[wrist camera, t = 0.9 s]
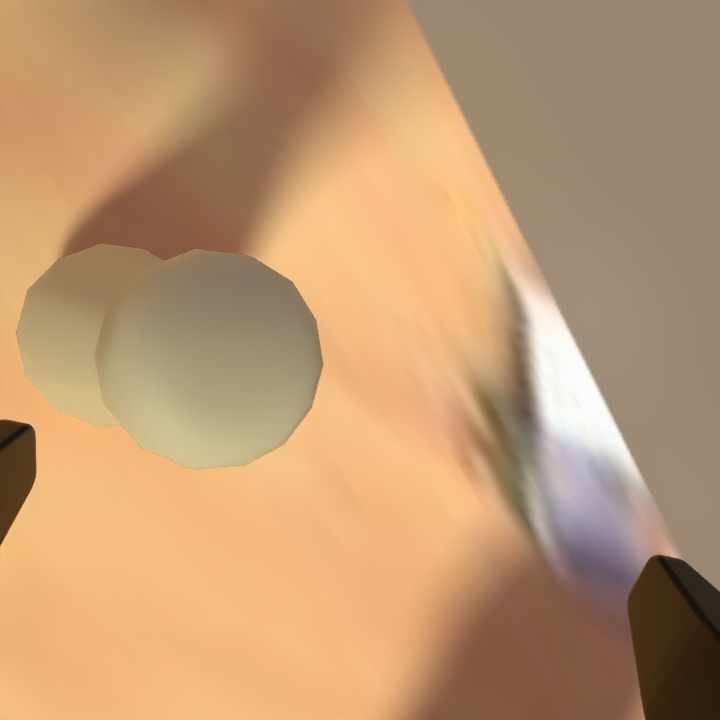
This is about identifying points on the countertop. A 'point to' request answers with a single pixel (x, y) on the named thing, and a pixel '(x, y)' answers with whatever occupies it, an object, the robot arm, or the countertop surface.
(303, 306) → the salt shaker
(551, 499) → the countertop surface
